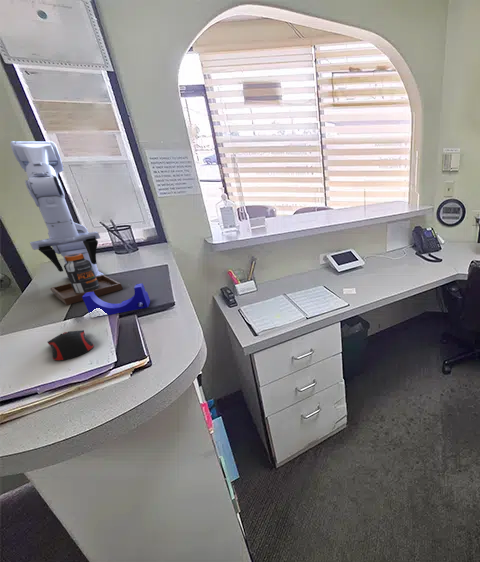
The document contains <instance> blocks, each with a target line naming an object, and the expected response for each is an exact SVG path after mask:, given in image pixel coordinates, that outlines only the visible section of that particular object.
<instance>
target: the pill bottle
mask: <svg viewBox="0 0 480 562" xmlns="http://www.w3.org/2000/svg"><path fill="white" fill-rule="evenodd" d="M65 260H66V261H67V263H64V265H63V269H64V271H65V273H66V275H67V276H68V278H67V279H68V280H69V283H71V285H72V288H73V290H74V292H75V293H85V292H89V291H92V290H96V289H98V288H99V287H100V286H99V283H98V281H97V278H96V276H95V273H94V270H93V268H92V265H91V263H90V261H88V260H85V259H84V256H83V254H81V253H79V254H71V255H67V256H65ZM67 276H66V277H67Z"/></svg>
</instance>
